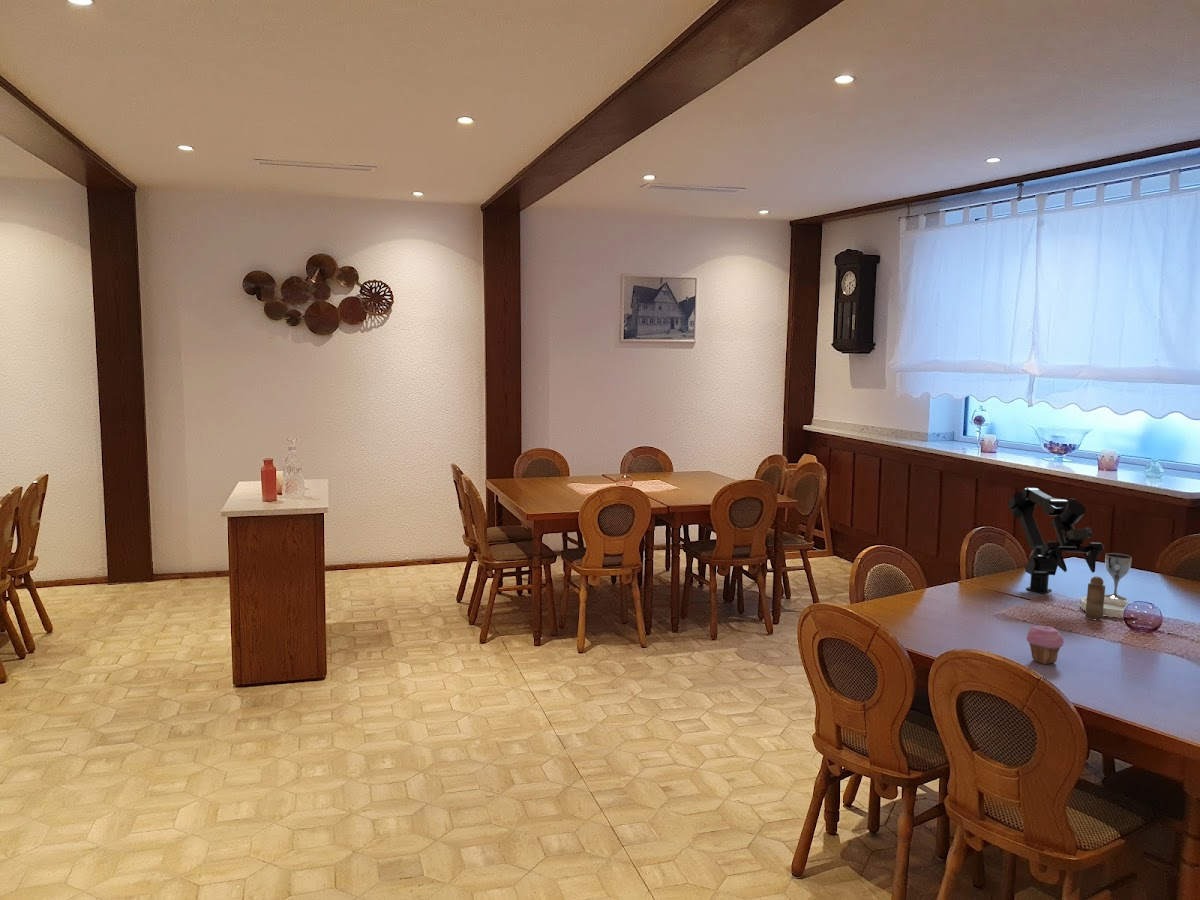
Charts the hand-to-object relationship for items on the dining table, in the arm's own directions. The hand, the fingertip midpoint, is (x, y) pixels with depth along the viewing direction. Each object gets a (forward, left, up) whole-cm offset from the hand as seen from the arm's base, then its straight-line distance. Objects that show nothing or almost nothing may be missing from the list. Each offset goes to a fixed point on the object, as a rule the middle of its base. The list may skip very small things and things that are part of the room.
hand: (1079, 571), depth 287 cm
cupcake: (+61, +17, -13) cm, 64 cm away
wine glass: (-29, 0, -13) cm, 32 cm away
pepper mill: (+5, +7, -13) cm, 16 cm away
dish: (-8, +6, -13) cm, 17 cm away
